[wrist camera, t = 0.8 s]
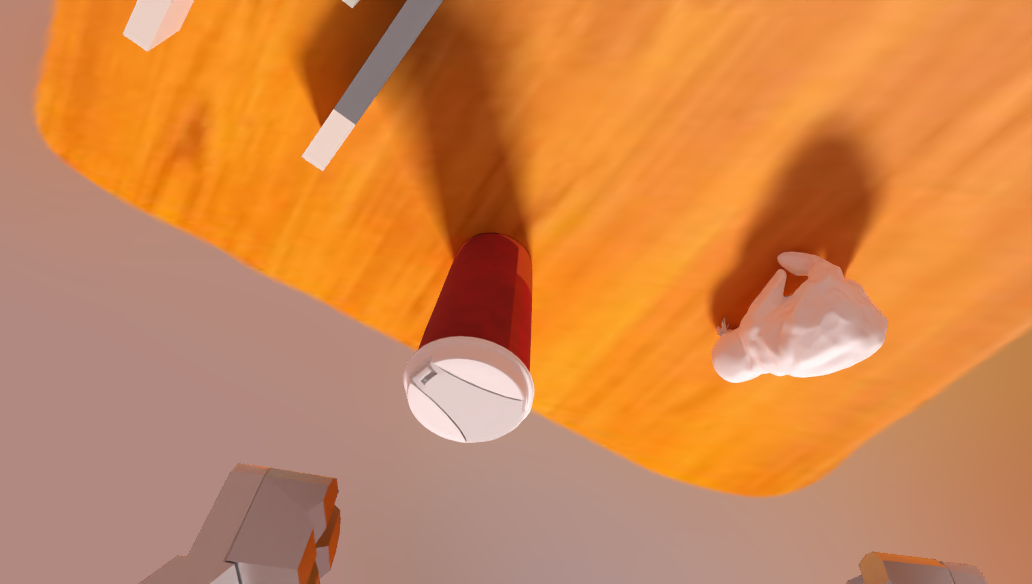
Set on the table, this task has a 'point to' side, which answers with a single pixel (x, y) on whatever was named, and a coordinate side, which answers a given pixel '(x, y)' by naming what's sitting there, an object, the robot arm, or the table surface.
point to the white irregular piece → (801, 325)
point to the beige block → (351, 2)
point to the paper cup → (477, 345)
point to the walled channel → (170, 3)
